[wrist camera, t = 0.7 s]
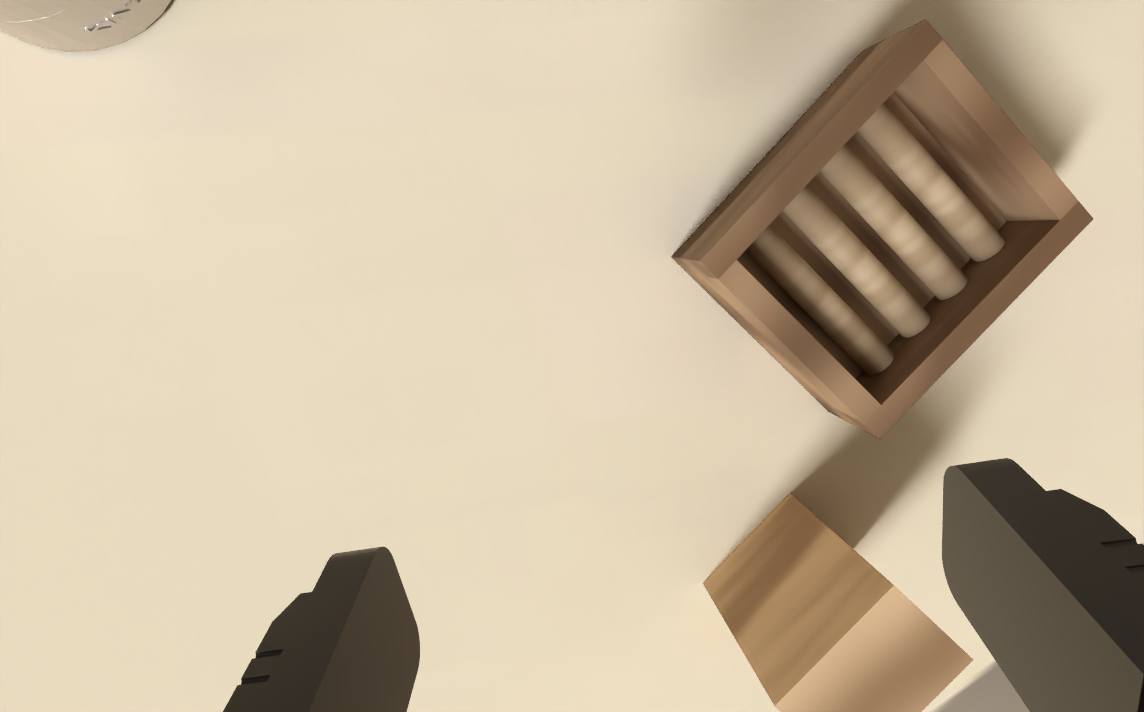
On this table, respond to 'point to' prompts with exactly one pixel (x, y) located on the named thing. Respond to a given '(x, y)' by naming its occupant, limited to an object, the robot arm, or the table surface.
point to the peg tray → (885, 230)
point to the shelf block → (828, 622)
